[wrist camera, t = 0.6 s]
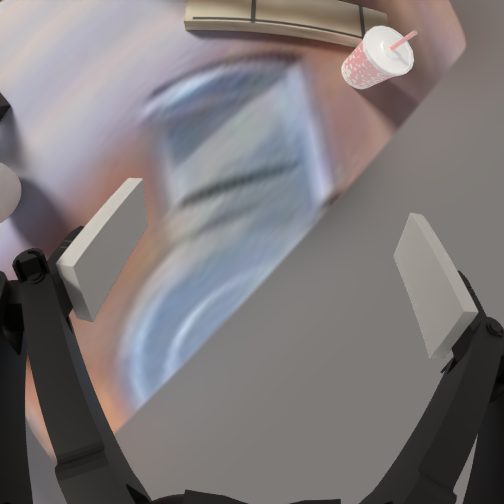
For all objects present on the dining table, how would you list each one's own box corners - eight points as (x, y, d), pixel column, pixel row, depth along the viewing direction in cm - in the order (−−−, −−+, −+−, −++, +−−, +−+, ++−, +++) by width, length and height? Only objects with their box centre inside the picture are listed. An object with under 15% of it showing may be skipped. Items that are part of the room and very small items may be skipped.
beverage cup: (332, 86, 35) (386, 43, 21) (338, 47, 33) (387, -4, 20) (375, 101, 35) (440, 70, 22) (379, 62, 34) (439, 23, 21)
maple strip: (190, -5, 30) (189, -15, 28) (378, 20, 33) (386, 13, 30) (185, 30, 31) (183, 20, 29) (382, 54, 34) (391, 48, 32)
